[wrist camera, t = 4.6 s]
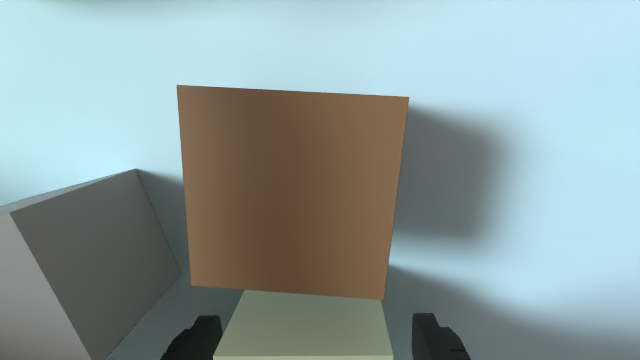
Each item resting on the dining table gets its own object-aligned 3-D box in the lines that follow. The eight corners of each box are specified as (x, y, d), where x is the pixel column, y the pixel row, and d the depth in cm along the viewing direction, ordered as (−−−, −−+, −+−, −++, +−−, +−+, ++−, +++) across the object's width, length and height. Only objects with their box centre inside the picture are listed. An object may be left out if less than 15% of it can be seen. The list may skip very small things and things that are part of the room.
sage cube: (371, 259, 13) (393, 355, 8) (373, 354, 14) (392, 485, 9) (257, 262, 13) (212, 356, 8) (269, 354, 14) (235, 482, 10)
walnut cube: (377, 97, 11) (409, 96, 6) (364, 222, 12) (383, 300, 8) (244, 90, 11) (176, 85, 6) (246, 214, 13) (191, 285, 8)
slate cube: (136, 168, 12) (8, 212, 7) (181, 272, 14) (96, 369, 9) (33, 196, 13) (-148, 254, 8) (85, 294, 14) (-46, 395, 9)
